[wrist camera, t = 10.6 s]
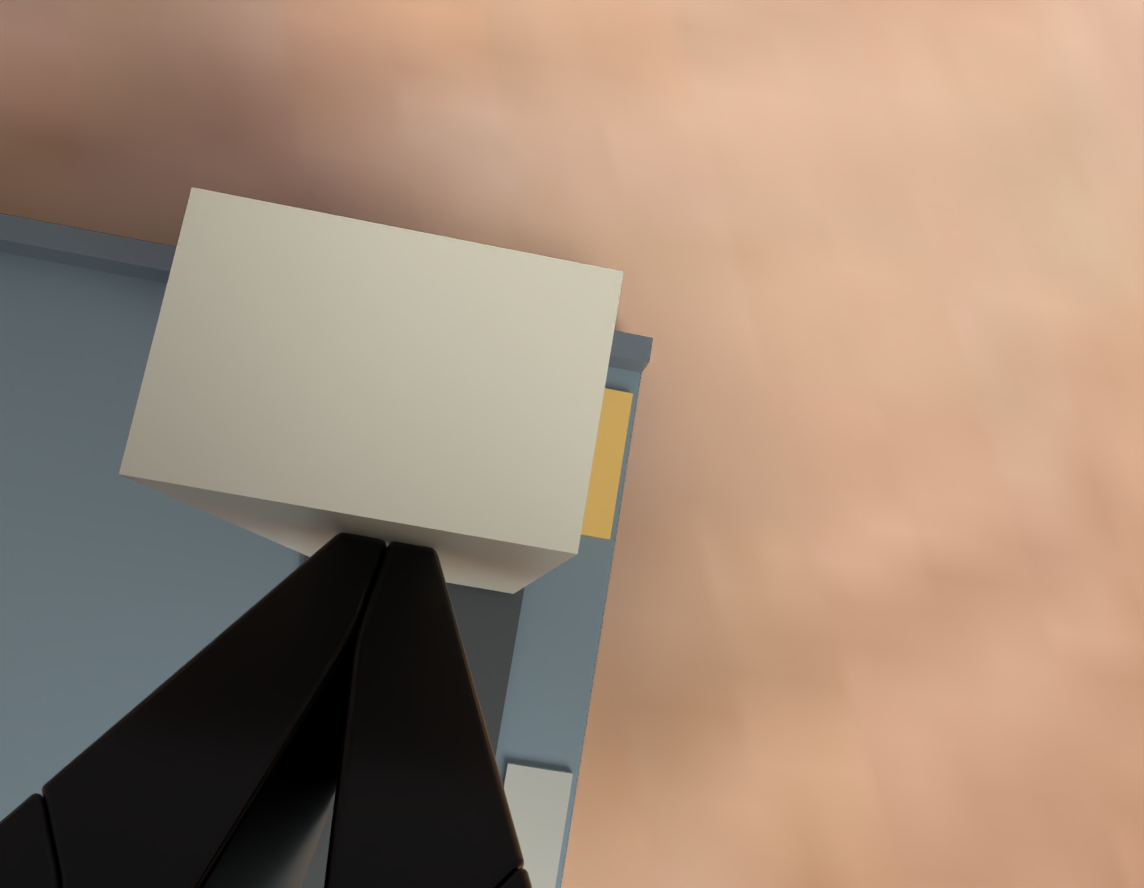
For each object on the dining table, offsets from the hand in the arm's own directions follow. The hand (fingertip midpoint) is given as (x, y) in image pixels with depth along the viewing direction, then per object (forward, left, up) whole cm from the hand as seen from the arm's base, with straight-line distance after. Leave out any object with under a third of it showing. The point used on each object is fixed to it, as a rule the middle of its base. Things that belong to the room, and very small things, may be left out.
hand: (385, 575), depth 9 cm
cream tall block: (+1, 0, -7) cm, 7 cm away
